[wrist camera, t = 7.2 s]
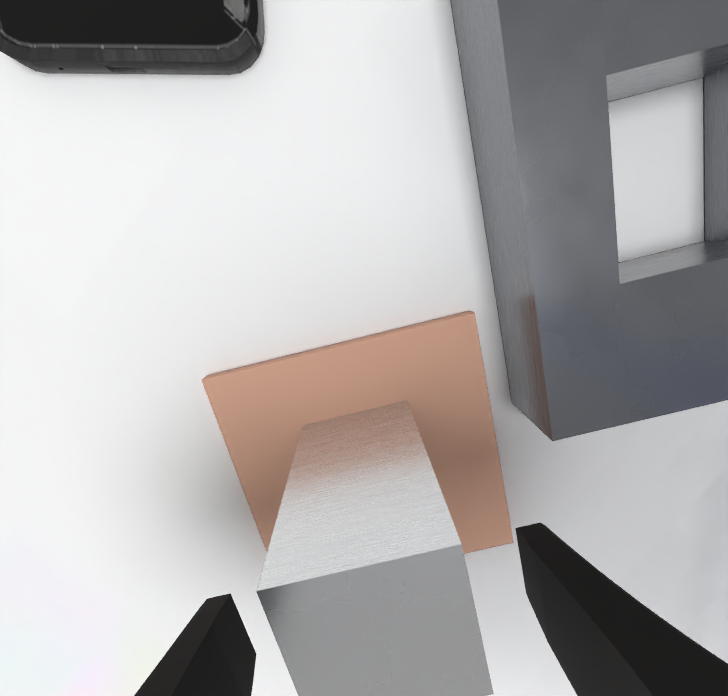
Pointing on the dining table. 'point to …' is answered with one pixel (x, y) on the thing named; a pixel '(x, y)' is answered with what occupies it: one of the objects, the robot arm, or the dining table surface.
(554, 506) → the dining table surface
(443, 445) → the mat
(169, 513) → the dining table surface
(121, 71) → the phone
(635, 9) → the socket plate
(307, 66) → the dining table surface
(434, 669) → the steel peg
